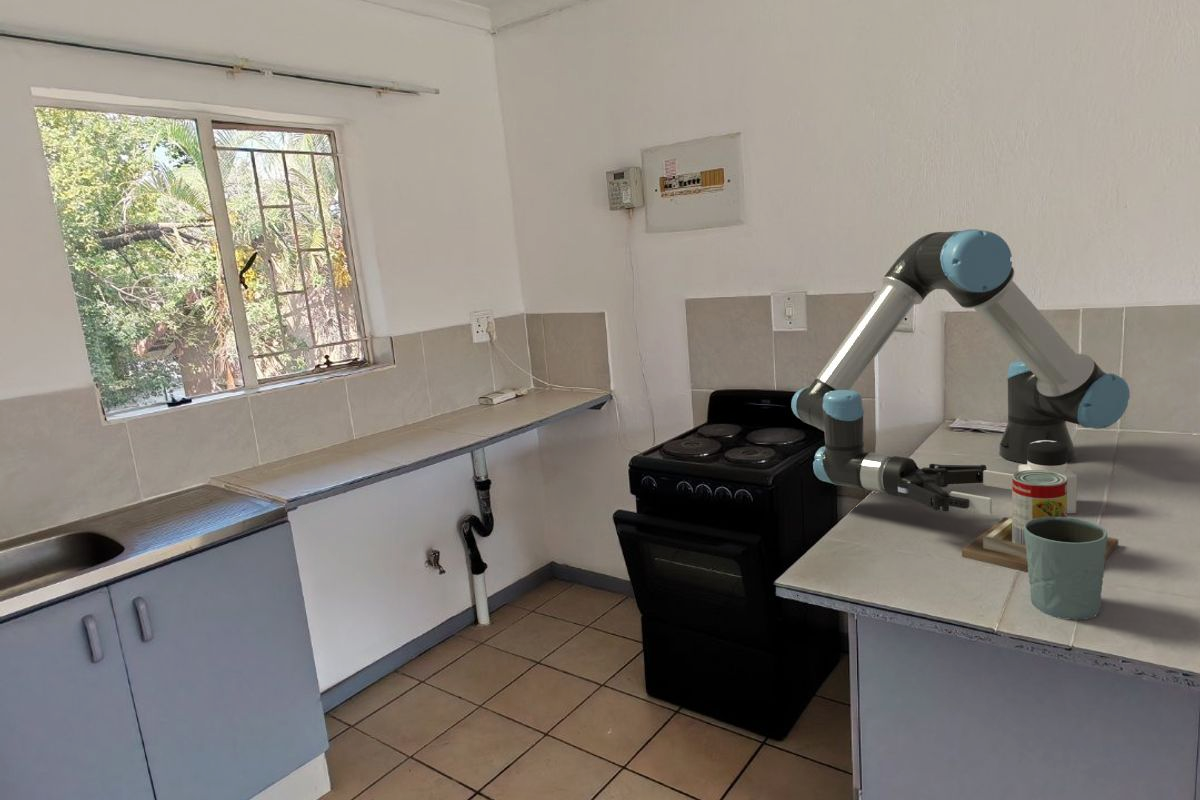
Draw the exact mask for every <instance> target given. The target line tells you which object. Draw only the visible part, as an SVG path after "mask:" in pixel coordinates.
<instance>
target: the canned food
mask: <svg viewBox="0 0 1200 800" xmlns="http://www.w3.org/2000/svg"><path fill="white" fill-rule="evenodd" d="M1012 474H1013V476H1012V491H1011V495H1012V499H1011V503H1012V504H1011V505H1012V508H1011V509H1012V513H1011V514H1012V516H1011V517H1012V542H1013V543H1018V544H1023V545H1026V543H1025V536H1024V525H1025V524H1026V523H1027V522H1028V521H1030V520H1033V519H1036V518H1042V517H1068V514H1067V478H1066V476H1064V475H1062V474H1060V473H1056V472H1051V471H1044V470H1026V471H1020V472H1019V471H1017V472H1015V473H1012Z"/></svg>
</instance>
